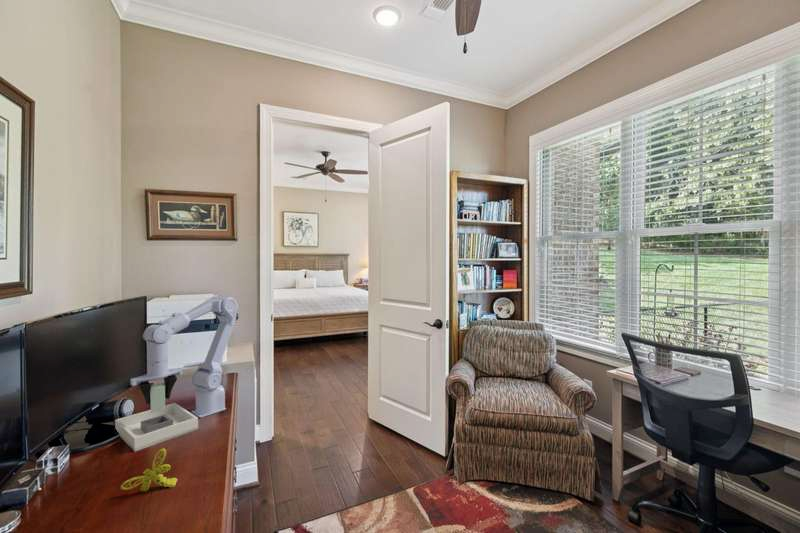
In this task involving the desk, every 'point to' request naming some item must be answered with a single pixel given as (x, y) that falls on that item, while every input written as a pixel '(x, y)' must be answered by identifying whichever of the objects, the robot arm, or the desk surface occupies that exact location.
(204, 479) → the desk surface
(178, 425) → the box
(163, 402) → the connector
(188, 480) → the desk surface
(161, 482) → the decorative insect
